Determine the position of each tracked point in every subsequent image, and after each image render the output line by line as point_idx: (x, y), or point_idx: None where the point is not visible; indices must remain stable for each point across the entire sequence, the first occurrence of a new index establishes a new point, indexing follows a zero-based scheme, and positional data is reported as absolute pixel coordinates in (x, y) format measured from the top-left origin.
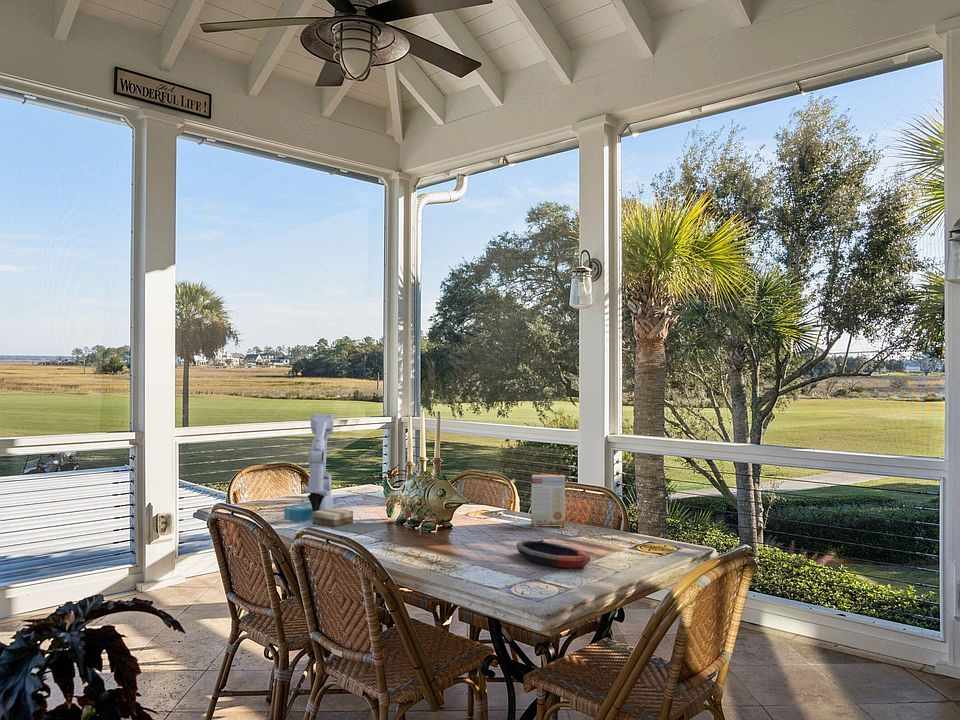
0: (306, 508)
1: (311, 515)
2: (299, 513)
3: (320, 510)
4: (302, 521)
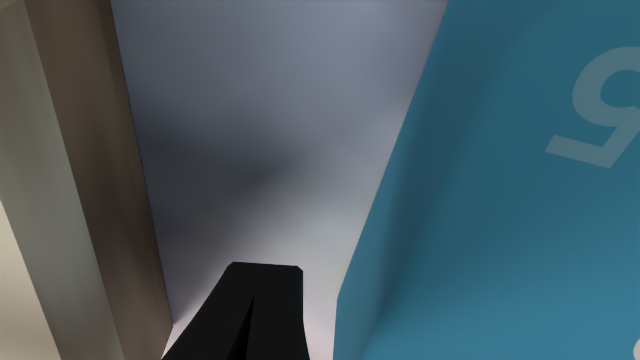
0: (571, 358)
1: (378, 236)
2: (515, 9)
3: (5, 273)
4: (445, 22)
